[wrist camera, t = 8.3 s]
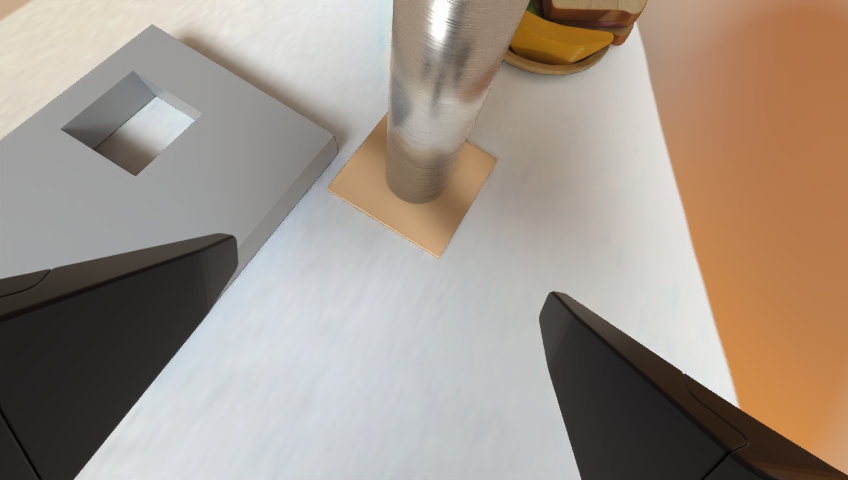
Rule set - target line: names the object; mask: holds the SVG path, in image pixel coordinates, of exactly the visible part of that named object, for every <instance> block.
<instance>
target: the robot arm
mask: <svg viewBox="0 0 848 480" xmlns="http://www.w3.org/2000/svg"><path fill="white" fill-rule="evenodd" d="M237 267H238V247H237V239H236V237H235V236H233V235H230V234H224V233H215V234H211V235H206V236H201V237H196V238H192V239H187V240H182V241H178V242H173V243H168V244H164V245H159V246H154V247H149V248H145V249H140V250H135V251H131V252H126V253H121V254H116V255H112V256H107V257H102V258H98V259H93V260H88V261H83V262H79V263H74V264H69V265H65V266H60V267H55V268H53V269H52V270H51V269H45V270H41V271H36V272H31V273H27V274H22V275H17V276H12V277H7V278H2V279H0V480H74V479H75V477H76V476H77V475H78V474H79V473H80V471H81V470H82V469H83V468H84V466H85V465H86V464H87V463H88V461H89V460H90V459H91V458H92V456H93V455H94V454H95V453H96V452H97V450H98V449H99V448H100V447H101V445H102V444H103V443H104V442H105V440H106V439H107V438H108V437H109V436H110V434H111V433H112V432H113V431H114V429H115V428H116V427H117V426H118V424H119V423H120V422H121V421H122V419H123V418H124V417H125V416H126V415H127V413H128V412H129V411H130V410H131V408H132V407H133V406H134V405H135V403H136V402H137V401H138V400H139V398H140V397H141V396H142V395H143V394H144V392H145V391H146V390H147V389H148V387H149V386H150V385H151V384H152V382H153V381H154V380H155V379H156V378H157V376H158V375H159V374H160V373H161V371H162V370H163V369H164V368H165V366H166V365H167V364H168V363H169V361H170V360H171V359H172V358H173V357H174V355H175V354H176V353H177V352H178V350H179V349H180V348H181V347H182V345H183V344H184V343H185V342H186V341H187V339H188V338H189V337H190V336H191V334H192V333H193V332H194V331H195V329H196V328H197V327H198V326H199V324H200V323H201V322H202V321H203V319H204V318H205V317H206V316H207V314H208V313H209V312H210V310H211V309H212V307H213V306H214V304H215V303H216V301H217V300H218V298H219V296H220V295H221V293H222V292H223V290H224V289H225V287H226V285H227V284H228V282H229V281H230V279H231V278H232V276H233V275H234V273H235V271H236V270H237ZM539 323H540V328H541V334H542V339H543V345H544V350H545V356H546V361H547V366H548V370H549V373H550V377H551V380H552V383H553V387H554V390H555V393H556V397H557V400H558V403H559V407H560V410H561V413H562V417H563V420H564V423H565V427H566V430H567V433H568V437H569V440H570V443H571V447H572V450H573V453H574V456H575V460H576V463H577V466H578V470H579V473H580V476H581V480H848V475H846V474H844V473H843V472H841V471H839V470H838V469H835V468H834V467H832V466H830V465H829V464H827V463H826V462H824V461H822V460H821V459H819V458H818V457H816V456H815V455H813V454H811V453H810V452H808V451H806V450H805V449H803V448H801V447H800V446H798V445H797V444H795V443H793V442H792V441H790V440H789V439H787V438H785V437H783V436H782V435H780V434H779V433H777V432H776V431H774V430H772V429H770V428H769V427H767V426H766V425H764V424H762V423H761V422H759V421H758V420H756V419H755V418H753V417H751V416H750V415H748V414H747V413H745V412H743V411H742V410H740V409H739V408H737V407H735V406H734V405H732V404H731V403H729V402H728V401H726V400H724V399H723V398H721V397H720V396H718V395H717V394H715V393H714V392H712V391H711V390H709V389H708V388H706V387H705V386H703V385H701V384H700V383H698V382H697V381H696V380H694V379H693V378H691V377H690V376H688V375H687V374H683V373H682V371H680V370H679V369H677V368H676V367H674V366H673V365H671V364H670V363H669V362H667V361H666V360H664V359H663V358H661V357H660V356H658V355H657V354H655V353H654V352H652V351H651V350H649V349H648V348H646V347H645V346H643V345H642V344H640V343H639V342H637V341H636V340H634V339H633V338H631V337H630V336H628V335H627V334H625V333H624V332H622V331H621V330H619V329H618V328H616V327H615V326H613V325H612V324H610V323H609V322H607V321H606V320H604V319H603V318H601V317H600V316H598V315H597V314H595V313H594V312H592V311H591V310H589V309H588V308H586V307H585V306H583V305H582V304H580V303H579V302H577V301H576V300H574V299H573V298H571V297H570V296H568V295H567V294H565V293H560V292H555V291H552V292H550V293H549V294H548V296H547V298H546V301H545V303H544V305H543V308H542V310H541V312H540V316H539Z"/></svg>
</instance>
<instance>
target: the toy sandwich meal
mask: <svg viewBox="0 0 848 480" xmlns="http://www.w3.org/2000/svg"><path fill="white" fill-rule="evenodd" d="M646 3H647V0H530V1H529V3H528V6H527V8H526V10H525V12H524V15H523V17H522V19H521V21H520V23H519V26H518V28H517V30H516V32H515V34H514V37H513V39H512V41H511V43H510V45H509V48H508V50H507V52H506V54H505V57H504V59H503V60H504V61H506V62H508V63H509V64H511V65H513V66H515V67H517V68H520V69H522V70H525V71H529V72H532V73H537V74H545V75H564V74H571V73H576V72H579V71H582V70H585V69H587V68H589V67H591V66H593V65H594V64H596V63H597V62H598V61H599V60H600V59H601V58H602V57H603V56H604V55H605V54H606V52H607V50H608V48H609V46H610V44H612V45H616V46H618V45H621V44H623V43H624V42H625V40H626V39H627V37H628V35H629V34H630V32H631V30H632V28H633V25H634V22H635V21H636V20H637V18H638V17H639V16H640V14H641V13H642V11H643V9H644V8H645V6H646Z"/></svg>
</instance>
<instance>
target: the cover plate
mask: <svg viewBox="0 0 848 480" xmlns="http://www.w3.org/2000/svg"><path fill="white" fill-rule="evenodd" d="M155 96H157V97H159V98H161V99H162V100H164V101H166V102H167V103H169V104H170V105H172V106H174V107H175V108H177V109H178V110H180V111H182V112H183V113H185V114H187V115H188V116H190V117H191V118H193V119H195V121H194V122H193V123H192V124H191V125H190V126H189V127H188V128H187V129H186V130H185V131H184V132H183V133H181V134H180V135H179V136H178V137H177V138H176V139H175V140H174V141H173V142H172V143H171V144H170V145H169V146H168V147H167V148H166V149H164V150H163V151H162V152H161V153H160V154H159V155H158V156H157V157H156V158H155V159H154V160H153V161H152V162H151V163H150V164H148V165H147V166H146V167H145V168H144V169H143V170H142V171H141V172H140V173H139V174H138V175H137V176H136V177H135V176H134V175H132V174H131V173H129V172H127V171H126V170H124V169H123V168H121V167H119V166H118V165H116V164H115V163H113V162H112V161H110V160H108V159H107V158H105V157H104V156H102V155H100V154H99V153H97V152H96V151H94V150H93V149H94V148H96V147H97V146H98V145H99V144H100V143H101V142H103V141H104V140H105V139H106V138H107V137H108V136H110V135H111V134H112V133H113V132H114V131H115V130H117V129H118V128H119V127H120V126H121V125H122V124H123V123H125V122H126V121H127V120H128V119H129V118H130V117H132V116H133V115H134V114H135V113H136V112H137V111H139V110H140V109H141V108H142V107H143V106H144V105H146V104H147V103H148V102H149V101H150V100H151V99H153V98H154V97H155ZM337 154H338V150H337V145H336V140H335V136H334V134H332V133H330V132H329V131H327V130H326V129H324V128H322V127H321V126H319V125H317V124H316V123H314V122H312V121H311V120H309V119H307V118H306V117H304V116H302V115H301V114H299V113H298V112H296V111H294V110H293V109H291V108H289V107H288V106H286V105H284V104H283V103H281V102H279V101H278V100H276V99H274V98H273V97H271V96H270V95H268V94H266V93H265V92H263V91H261V90H260V89H258V88H256V87H255V86H253V85H251V84H250V83H248V82H246V81H245V80H243V79H241V78H240V77H238V76H237V75H235V74H233V73H232V72H230V71H228V70H227V69H225V68H223V67H222V66H220V65H218V64H217V63H215V62H213V61H212V60H210V59H209V58H207V57H205V56H204V55H202V54H200V53H199V52H197V51H195V50H194V49H192V48H190V47H189V46H187V45H185V44H184V43H182V42H181V41H179V40H177V39H176V38H174V37H172V36H171V35H169V34H167V33H166V32H164V31H162V30H161V29H159V28H157V27H156V26H154V25H150V26H149V27H148V28H147V29H145V30H144V31H143V32H141V33H140V34H139V35H137V36H136V37H135V38H133V39H132V40H131V41H130V42H128V43H127V44H126V45H124V46H123V47H122V48H120V49H119V50H118V51H116V52H115V53H114V54H113V55H111V56H110V57H109V58H107V59H106V60H105V61H103V62H102V63H101V64H99V65H98V66H97V67H96V68H94V69H93V70H92V71H90V72H89V73H88V74H86V75H85V76H84V77H82V78H81V79H80V80H79V81H77V82H76V83H75V84H73V85H72V86H71V87H69V88H68V89H67V90H65V91H64V92H63V93H62V94H60V95H59V96H58V97H56V98H55V99H54V100H52V101H51V102H50V103H48V104H47V105H46V106H45V107H43V108H42V109H41V110H39V111H38V112H37V113H35V114H34V115H33V116H31V117H30V118H29V119H28V120H26V121H25V122H24V123H22V124H21V125H20V126H18V127H17V128H16V129H14V130H13V131H12V132H11V133H9V134H8V135H7V136H5V137H4V138H3V139H1V140H0V279H2V278H7V277H12V276H17V275H22V274H27V273H31V272H36V271H41V270H45V269H51V270H52V269H53V268H55V267H60V266H65V265H69V264H74V263H79V262H83V261H88V260H93V259H98V258H102V257H107V256H112V255H116V254H121V253H126V252H131V251H135V250H140V249H145V248H149V247H154V246H159V245H164V244H168V243H173V242H178V241H182V240H187V239H192V238H196V237H201V236H206V235H211V234H215V233H224V234H230V235H233V236H235V237H236V239H237V247H238V267H237V270H236V271H235V273H234V275H233V276H232V278H231V279H230V281H229V282H228V284H227V285H226V287H225V289H224V290H223V292H222V293H221V295H222V294H223V293H224V292H225V290H226V289H227V288H228V287H229V286H230V284H231V283H232V282H233V281H234V280H235V278H236V277H237V276H238V275H239V273H240V272H241V271H242V270H243V269H244V267H245V266H246V265H247V264H248V263H249V261H250V260H251V259H252V258H253V256H254V255H255V254H256V253H257V252H258V250H259V249H260V248H261V247H262V246H263V244H264V243H265V242H266V241H267V239H268V238H269V237H270V236H271V235H272V233H273V232H274V231H275V230H276V228H277V227H278V226H279V225H280V224H281V222H282V221H283V220H284V219H285V218H286V216H287V215H288V214H289V213H290V211H291V210H292V209H293V208H294V207H295V205H296V204H297V203H298V202H299V201H300V199H301V198H302V197H303V196H304V194H305V193H306V192H307V191H308V190H309V188H310V187H311V186H312V185H313V184H314V182H315V181H316V180H317V179H318V177H319V176H320V175H321V174H322V173H323V171H324V170H325V169H326V168H327V166H328V165H329V164H330V163H331V162H332V160H333V159H334V158H335V157H336V156H337ZM221 295H220V296H219V298H220V297H221ZM219 298H218V299H219Z"/></svg>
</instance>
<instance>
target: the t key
mask: <svg viewBox="0 0 848 480" xmlns="http://www.w3.org/2000/svg"><path fill="white" fill-rule="evenodd" d="M529 1H530V0H393V21H392V42H391V63H390V84H389V105H388V126H387V147H386V168H385V177H386V182H387V184H388V187H389V188H390V190H391V191H392V192H393V193H394V194H395V195H396V196H397V197H398V198H400V199H401V200H403V201H406V202H409V203H413V204H423V203H428V202H431V201H433V200H435V199H436V198H438V197H439V196H440V195H441V194H442V192H443V191H444V189H445V187H446V185H447V183H448V180H449V178H450V176H451V174H452V172H453V169H454V167H455V165H456V163H457V160H458V158H459V156H460V154H461V152H462V149H463V147H464V145H465V143H466V141H467V138H468V136H469V134H470V132H471V130H472V127H473V125H474V123H475V121H476V118H477V116H478V114H479V112H480V110H481V107H482V105H483V103H484V101H485V99H486V96H487V94H488V92H489V90H490V88H491V85H492V83H493V81H494V79H495V76H496V74H497V72H498V70H499V68H500V65H501V63H502V61H503V59H504V57H505V54H506V52H507V50H508V48H509V45H510V43H511V41H512V39H513V37H514V34H515V32H516V30H517V28H518V26H519V23H520V21H521V19H522V17H523V15H524V12H525V10H526V8H527V6H528V3H529Z"/></svg>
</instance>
